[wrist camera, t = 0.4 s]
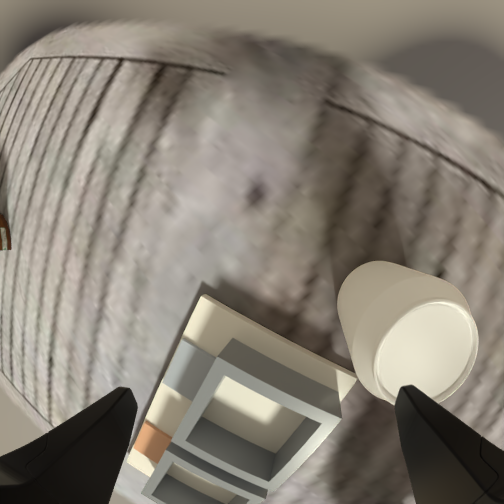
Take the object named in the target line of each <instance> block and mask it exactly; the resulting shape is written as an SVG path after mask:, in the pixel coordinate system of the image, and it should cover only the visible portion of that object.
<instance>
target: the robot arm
mask: <svg viewBox="0 0 504 504" xmlns="http://www.w3.org/2000/svg"><path fill="white" fill-rule="evenodd" d="M137 409H138V406H137V402H136V400H135V397H134V395H133V393H132V390H131V389H130V388H127V387H118V388H116V389H115V390H113V391H112V392H110V393H109V394H107V395H106V396H104V397H102V398H101V399H99V400H98V401H96V402H95V403H93V404H92V405H90V406H89V407H87V408H86V409H84V410H82V411H81V412H79V413H78V414H76V415H75V416H73V417H71V418H70V419H68V420H67V421H65V422H64V423H62V424H60V425H59V426H57V427H56V428H54V429H52V430H51V431H49V432H48V433H46V434H44V435H43V436H41V437H39V438H38V439H36V440H34V441H32V442H30V443H29V444H27V445H25V446H23V447H21V448H18V449H16V450H14V451H12V452H10V453H7V454H5V455H3V456H1V457H0V504H109V501H110V498H111V495H112V492H113V489H114V486H115V483H116V480H117V477H118V474H119V472H120V469H121V466H122V463H123V460H124V457H125V455H126V452H127V449H128V446H129V443H130V439H131V435H132V430H133V426H134V422H135V418H136V414H137ZM395 413H396V419H397V424H398V430H399V436H400V442H401V447H402V451H403V455H404V458H405V462H406V466H407V469H408V473H409V477H410V481H411V485H412V489H413V493H414V497H415V502H416V504H504V451H503V450H501V449H500V448H498V447H497V446H495V445H494V444H492V443H491V442H489V441H488V440H487V439H485V438H484V437H481V435H480V434H478V433H477V432H476V431H474V430H473V429H472V428H470V427H469V426H468V425H466V424H465V423H464V422H462V421H461V420H460V419H458V418H457V417H456V416H454V415H453V414H451V413H450V412H449V411H447V410H446V409H445V408H443V407H442V406H441V405H439V404H438V403H437V402H435V401H434V400H433V399H431V398H430V397H429V396H427V395H426V394H425V393H423V392H422V391H421V390H419V389H418V388H417V387H415V386H414V385H412V384H410V385H404V386H401V387H400V389H399V392H398V395H397V398H396V401H395Z"/></svg>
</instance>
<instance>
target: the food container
mask: <svg viewBox="0 0 504 504" xmlns="http://www.w3.org/2000/svg"><path fill="white" fill-rule="evenodd" d="M0 250H11V238H10V231H9V227H8V224H7V221H6V219H5V218H4V216H3V215H2V214H0Z"/></svg>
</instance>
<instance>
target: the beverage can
mask: <svg viewBox="0 0 504 504" xmlns="http://www.w3.org/2000/svg"><path fill="white" fill-rule="evenodd" d="M337 309H338V315H339V319H340V322H341V326H342V329H343V332H344V336H345V339H346V342H347V345H348V349H349V352H350V356H351V359H352V362H353V366H354V369H355V372H356V375H357V377H358V379H359V380H360V382H361V383H362V385H363V386H364V387H365V388H366V389H367V390H368V391H369V392H370V393H372V394H373V395H375V396H376V397H378V398H380V399H383V400H386V401H388V402H390V403H391V404H393V405H395V401H396V398H397V395H398V392H399V389H400V387H401V386H404V385H410V384H412V385H414V386H415V387H417V388H418V389H419V390H421V391H422V392H423V393H425V394H426V395H427V396H429V397H430V398H431V399H433V400H434V401H435V402H437V403H439V402H441V401H443V400H445V399H446V398H448V397H449V396H450V395H452V394H453V393H454V392H455V391H456V390H457V389H458V388H459V387H460V386H461V385H462V383H463V382H464V381H465V379H466V378H467V376H468V375H469V373H470V371H471V369H472V367H473V365H474V362H475V359H476V356H477V351H478V331H477V326H476V323H475V321H474V319H473V317H472V316H471V312H470V308H469V306H468V303H467V301H466V300H465V298H464V296H463V295H462V294H461V292H460V291H459V290H458V289H457V288H456V287H455V286H453V285H452V284H450V283H449V282H447V281H445V280H443V279H440V278H437V277H434V276H431V275H428V274H425V273H422V272H419V271H416V270H413V269H410V268H407V267H404V266H401V265H398V264H395V263H391V262H387V261H372V262H368V263H365V264H363V265H361V266H359V267H357V268H356V269H355V270H353V271H352V272H351V273H350V274H349V275H348V276H347V278H346V279H345V280H344V282H343V284H342V286H341V288H340V291H339V294H338V300H337Z"/></svg>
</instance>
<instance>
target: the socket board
mask: <svg viewBox="0 0 504 504" xmlns="http://www.w3.org/2000/svg"><path fill="white" fill-rule="evenodd" d="M356 380H357V376H356V374H355V373H353V372H351V371H349V370H347V369H345V368H343V367H341V366H339V365H337V364H335V363H333V362H331V361H329V360H327V359H325V358H323V357H321V356H319V355H317V354H315V353H313V352H311V351H309V350H307V349H305V348H303V347H301V346H299V345H297V344H295V343H293V342H291V341H290V340H288V339H286V338H284V337H282V336H280V335H278V334H276V333H274V332H273V331H271V330H269V329H267V328H265V327H263V326H262V325H260V324H258V323H256V322H254V321H252V320H251V319H249V318H247V317H245V316H243V315H242V314H240V313H238V312H236V311H234V310H233V309H231V308H229V307H227V306H226V305H224V304H222V303H220V302H219V301H217V300H215V299H214V298H212V297H210V296H208V295H207V294H204V295H202V296H201V297H200V299H199V301H198V303H197V305H196V307H195V310H194V312H193V314H192V316H191V318H190V320H189V322H188V324H187V327H186V329H185V331H184V333H183V335H182V337H181V340H180V342H179V344H178V346H177V348H176V350H175V353H174V355H173V357H172V359H171V361H170V363H169V366H168V368H167V370H166V372H165V375H164V377H163V379H162V381H161V383H160V386H159V388H158V390H157V392H156V395H155V397H154V399H153V401H152V404H151V406H150V408H149V410H148V413H147V415H146V417H145V420H144V422H143V424H142V427H141V429H140V431H139V433H138V436H137V438H136V440H135V443H134V445H133V447H132V450H131V452H130V455H129V457H128V459H127V462H128V463H129V464H130V465H132V466H133V467H135V468H136V469H138V470H139V471H141V472H143V473H144V474H146V475H147V476H149V477H150V478H149V480H148V482H147V484H146V485H145V487H144V489H143V491H142V492H141V494H143V495H144V496H146V497H148V498H149V499H151V500H153V501H154V502H156V503H158V504H261V503H262V502H263V501H264V500H265V499H266V496H267V492H268V490H270V491H273V492H274V491H275V490H276V489H277V488H278V487H279V486H280V485H281V484H282V483H284V482H285V481H286V480H287V479H288V478H289V477H290V476H291V475H292V474H293V473H294V472H295V471H296V470H297V469H298V468H299V467H300V466H301V465H302V464H303V462H304V461H305V460H306V459H307V458H308V457H309V456H310V455H311V454H312V453H313V452H314V451H315V450H316V449H317V447H318V446H319V445H320V444H321V443H322V442H323V441H324V440H325V438H326V437H327V436H328V435H329V434H330V433H331V431H332V430H333V429H334V428H335V427H336V425H337V424H338V423H339V422H340V421H341V419H342V415H341V407H340V402H341V401H342V400H343V398H344V397H345V396H346V394H347V393H348V392H349V390H350V389H351V387H352V386H353V385H354V383H355V382H356Z"/></svg>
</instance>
